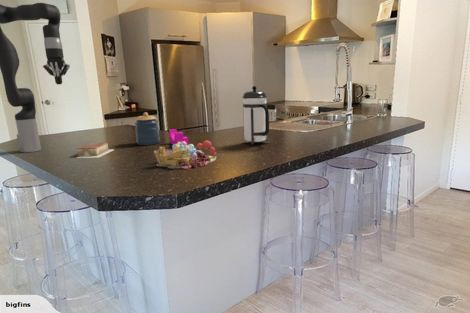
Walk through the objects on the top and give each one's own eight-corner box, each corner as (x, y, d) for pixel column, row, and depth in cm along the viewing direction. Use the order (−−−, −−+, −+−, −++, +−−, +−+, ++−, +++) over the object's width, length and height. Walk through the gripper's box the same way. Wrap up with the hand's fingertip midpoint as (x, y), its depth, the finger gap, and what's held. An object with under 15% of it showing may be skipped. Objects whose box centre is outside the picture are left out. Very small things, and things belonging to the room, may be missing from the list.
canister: (164, 141, 192) (162, 111, 188) (148, 146, 181) (144, 113, 177) (149, 140, 199) (146, 110, 195) (131, 144, 188) (128, 113, 184)
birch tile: (76, 148, 161) (96, 147, 160) (88, 143, 173) (107, 142, 172) (77, 156, 162) (97, 155, 161) (89, 150, 174) (108, 150, 173)
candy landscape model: (197, 172, 129) (196, 149, 127) (145, 169, 137) (143, 147, 134) (221, 157, 152) (220, 137, 149) (176, 155, 159) (174, 136, 157)
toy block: (188, 146, 179) (187, 132, 177) (177, 147, 176) (176, 133, 175) (180, 141, 192) (179, 128, 190) (170, 142, 190) (169, 129, 188)
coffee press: (237, 145, 174) (234, 86, 168) (247, 139, 189) (245, 85, 182) (268, 146, 168) (268, 86, 161) (277, 140, 182) (276, 84, 175)
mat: (75, 158, 159) (75, 157, 159) (94, 150, 176) (94, 149, 176) (98, 158, 158) (98, 157, 158) (114, 149, 175) (114, 149, 175)
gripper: (35, 48, 159) (41, 85, 163) (62, 46, 158) (67, 84, 162) (45, 49, 167) (51, 84, 171) (70, 48, 165) (75, 83, 170)
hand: (59, 84), depth 166 cm, fingers closed
